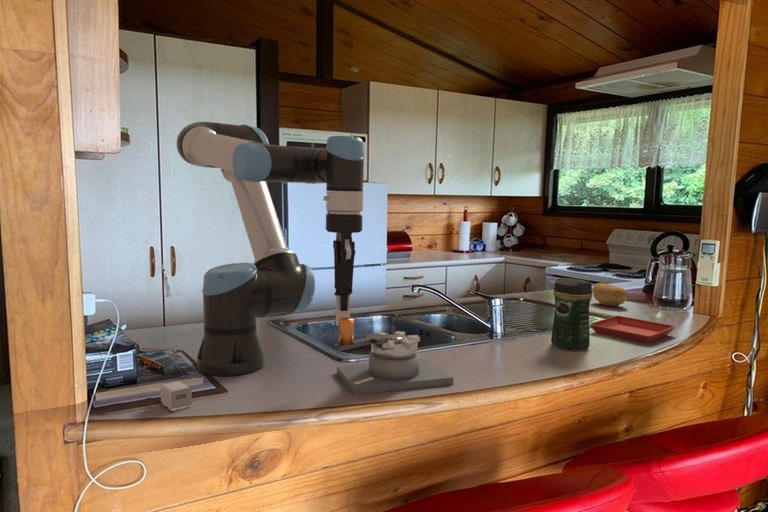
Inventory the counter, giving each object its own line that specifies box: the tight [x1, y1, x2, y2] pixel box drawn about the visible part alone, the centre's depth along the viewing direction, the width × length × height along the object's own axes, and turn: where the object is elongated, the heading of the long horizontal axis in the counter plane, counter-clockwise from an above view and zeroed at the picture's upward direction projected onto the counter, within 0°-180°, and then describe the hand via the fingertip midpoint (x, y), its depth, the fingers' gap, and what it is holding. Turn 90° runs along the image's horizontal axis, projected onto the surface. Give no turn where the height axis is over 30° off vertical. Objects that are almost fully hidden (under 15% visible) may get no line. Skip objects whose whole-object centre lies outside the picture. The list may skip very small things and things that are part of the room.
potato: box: [592, 282, 629, 307], centre depth 208 cm, size 10×14×8 cm
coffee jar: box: [550, 277, 593, 351], centre depth 150 cm, size 10×8×19 cm
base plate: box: [336, 351, 454, 396], centre depth 122 cm, size 22×14×6 cm, turn 109°
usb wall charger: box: [159, 381, 193, 409], centre depth 106 cm, size 4×7×4 cm, turn 44°
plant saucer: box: [589, 315, 676, 344], centre depth 166 cm, size 18×18×3 cm
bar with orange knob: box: [333, 316, 421, 360], centre depth 118 cm, size 21×11×10 cm, turn 133°
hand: (342, 324), depth 118 cm, fingers closed
